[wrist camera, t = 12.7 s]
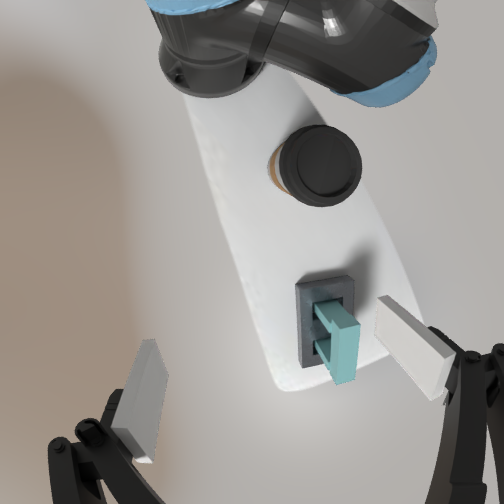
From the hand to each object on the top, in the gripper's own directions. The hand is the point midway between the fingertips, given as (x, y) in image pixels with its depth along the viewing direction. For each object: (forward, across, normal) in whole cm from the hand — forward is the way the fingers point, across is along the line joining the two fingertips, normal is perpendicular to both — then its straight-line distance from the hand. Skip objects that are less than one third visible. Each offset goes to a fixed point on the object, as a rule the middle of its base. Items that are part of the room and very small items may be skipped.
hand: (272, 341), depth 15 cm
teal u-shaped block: (+26, +12, -16) cm, 33 cm away
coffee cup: (+27, +8, +9) cm, 29 cm away
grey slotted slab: (+26, +12, -16) cm, 33 cm away
